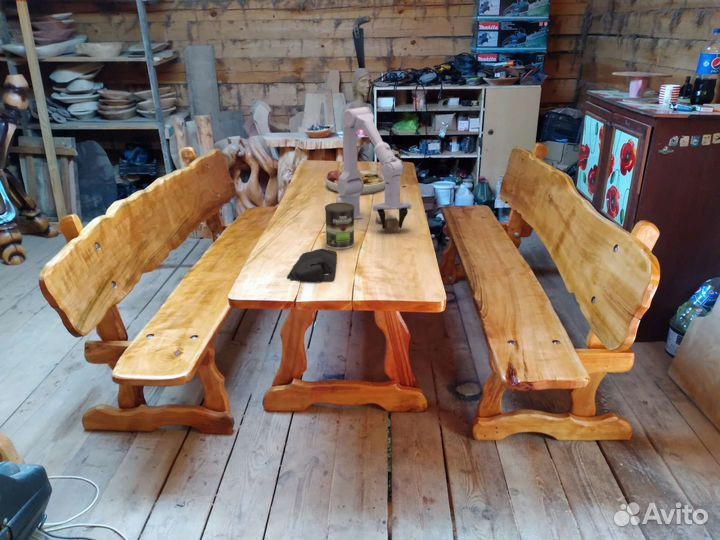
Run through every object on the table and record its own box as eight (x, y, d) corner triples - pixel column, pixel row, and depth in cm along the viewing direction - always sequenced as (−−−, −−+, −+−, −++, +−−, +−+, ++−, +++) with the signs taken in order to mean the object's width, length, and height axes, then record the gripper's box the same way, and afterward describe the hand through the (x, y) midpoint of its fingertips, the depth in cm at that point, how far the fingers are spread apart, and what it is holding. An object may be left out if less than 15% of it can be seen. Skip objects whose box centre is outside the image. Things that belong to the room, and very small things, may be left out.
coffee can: (357, 247, 196) (357, 209, 190) (329, 250, 193) (328, 212, 187) (350, 237, 205) (350, 201, 199) (323, 240, 202) (322, 203, 196)
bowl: (387, 179, 280) (387, 164, 277) (388, 196, 253) (389, 179, 250) (328, 179, 281) (327, 164, 278) (323, 196, 254) (323, 179, 250)
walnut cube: (387, 233, 208) (387, 222, 207) (384, 229, 212) (385, 218, 211) (398, 233, 209) (399, 221, 207) (396, 229, 213) (396, 218, 211)
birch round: (377, 226, 217) (377, 217, 215) (374, 219, 224) (374, 211, 222) (398, 225, 217) (398, 216, 216) (394, 218, 225) (394, 209, 223)
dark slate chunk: (344, 257, 189) (343, 244, 187) (333, 285, 169) (332, 271, 167) (300, 255, 191) (299, 242, 189) (284, 282, 171) (283, 268, 169)
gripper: (375, 197, 200) (374, 232, 205) (414, 195, 202) (412, 230, 207) (371, 191, 206) (371, 226, 212) (409, 189, 208) (408, 223, 214)
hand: (391, 227), depth 210 cm, fingers open, 6 cm apart
